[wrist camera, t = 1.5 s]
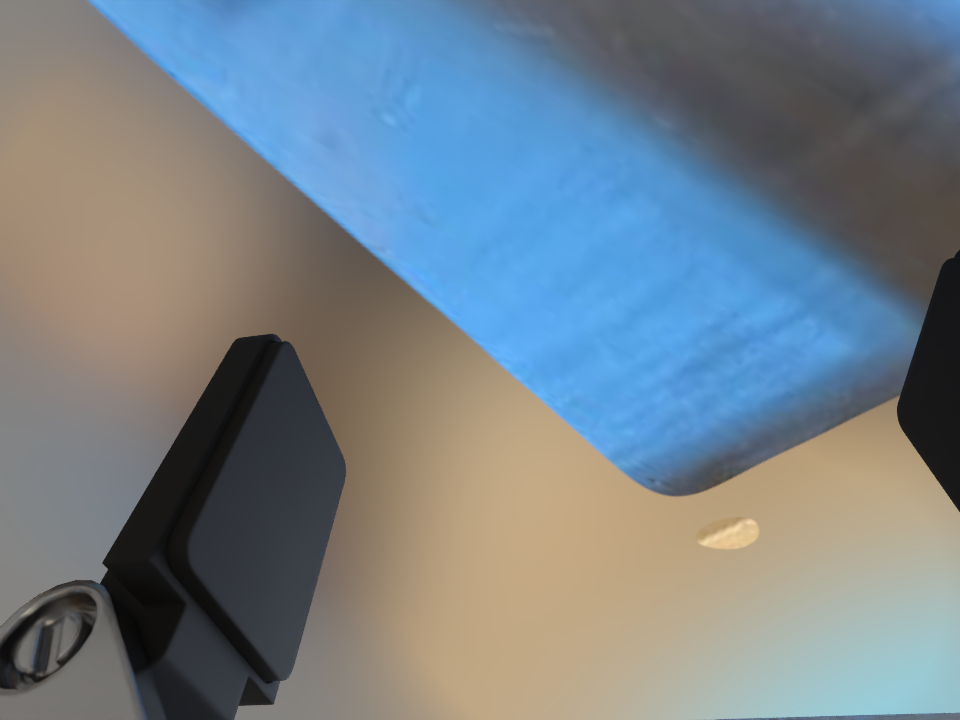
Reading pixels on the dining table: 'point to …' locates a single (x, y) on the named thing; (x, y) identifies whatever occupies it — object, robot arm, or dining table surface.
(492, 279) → the dining table surface
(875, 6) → the dining table surface
